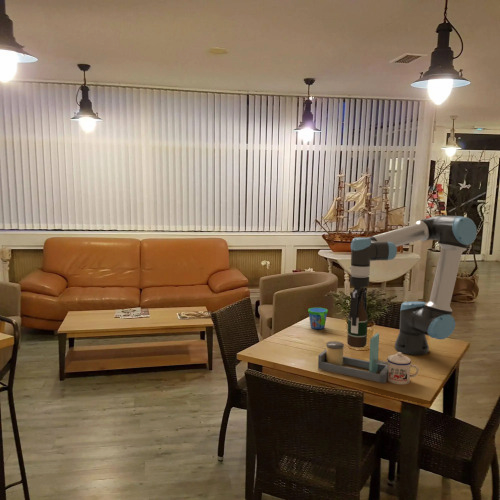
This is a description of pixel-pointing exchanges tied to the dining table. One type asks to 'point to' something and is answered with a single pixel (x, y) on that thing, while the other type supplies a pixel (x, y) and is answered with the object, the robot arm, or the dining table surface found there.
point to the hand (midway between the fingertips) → (357, 330)
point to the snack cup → (317, 317)
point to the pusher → (374, 354)
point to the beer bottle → (361, 337)
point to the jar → (334, 353)
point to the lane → (351, 371)
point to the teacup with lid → (399, 369)
